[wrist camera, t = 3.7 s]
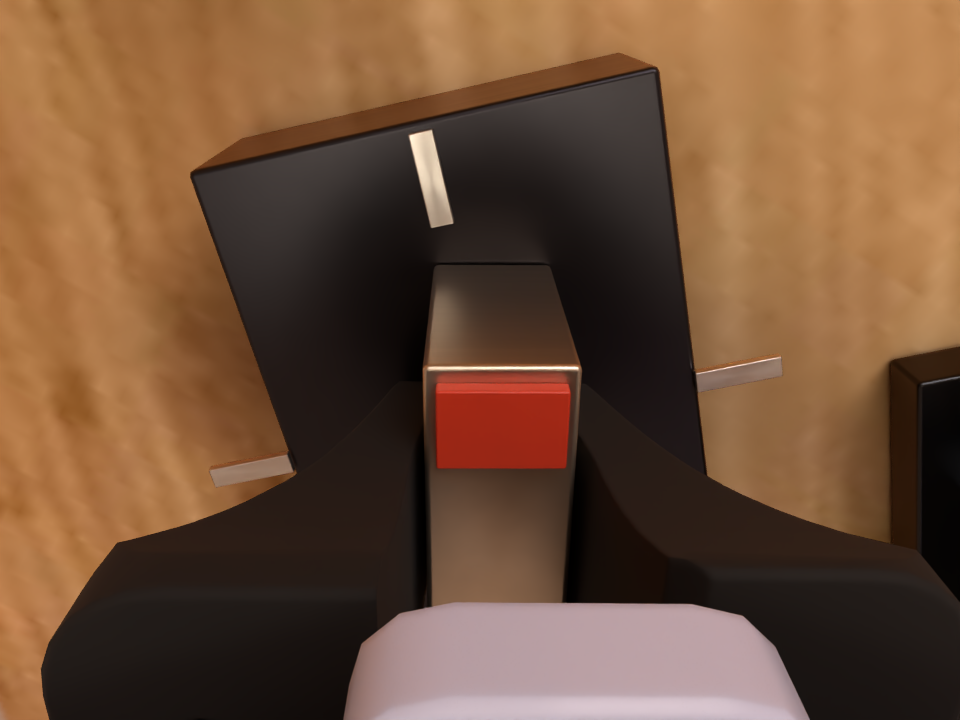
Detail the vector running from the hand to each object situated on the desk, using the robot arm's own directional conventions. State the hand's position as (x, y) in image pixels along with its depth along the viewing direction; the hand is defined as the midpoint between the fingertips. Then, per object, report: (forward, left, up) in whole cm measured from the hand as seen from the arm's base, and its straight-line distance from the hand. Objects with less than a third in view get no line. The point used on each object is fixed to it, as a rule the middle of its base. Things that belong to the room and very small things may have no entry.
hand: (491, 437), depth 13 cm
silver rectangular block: (0, 0, -1) cm, 1 cm away
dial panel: (0, 0, -4) cm, 4 cm away
